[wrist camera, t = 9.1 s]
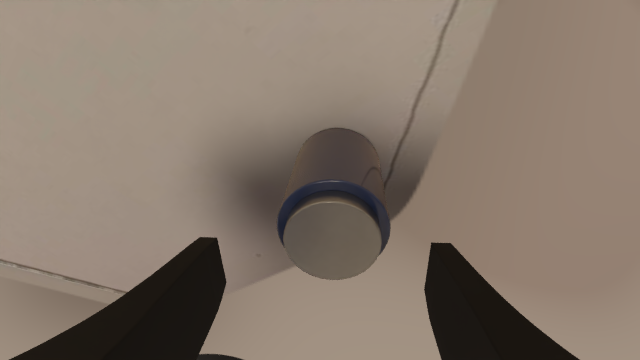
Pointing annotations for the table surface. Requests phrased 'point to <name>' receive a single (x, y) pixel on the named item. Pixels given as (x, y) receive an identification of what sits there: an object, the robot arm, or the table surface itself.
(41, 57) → the table surface
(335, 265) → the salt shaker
